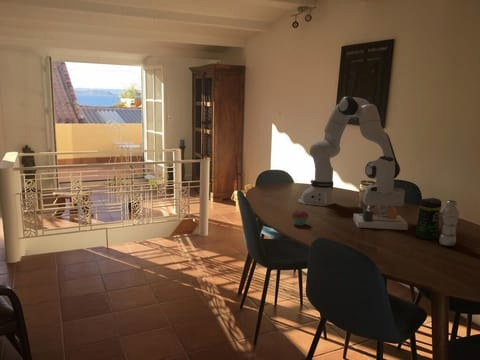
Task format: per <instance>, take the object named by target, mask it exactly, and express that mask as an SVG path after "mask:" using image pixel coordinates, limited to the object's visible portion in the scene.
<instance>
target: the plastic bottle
mask: <svg viewBox="0 0 480 360" xmlns="http://www.w3.org/2000/svg"><path fill="white" fill-rule="evenodd" d="M457 205H458V204H457V201H456V200H452V199H451V200H450V199H449V200H446V207H445V208H444V209H443V210H442V213H441V214H442V216H441V217H442V222H441V223H442V225H441V230H440V231H441V232H440V234H439V236H438V241H439V242H438V243H439V244H440V245H442V246H445V247H453V246H455V245H456V242H457V231H456V229H457V223H458V220H459V216H460V212H459V210H458V208H457Z"/></svg>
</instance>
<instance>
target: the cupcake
mask: <svg viewBox="0 0 480 360" xmlns="http://www.w3.org/2000/svg"><path fill="white" fill-rule="evenodd" d="M304 203H305V202H304ZM304 203H303V204H302V209H301V210H295V211H293V212H292V214H291V219H293V221H294V224H295V226H300V227H301V226H302V227H303V226H304V225H305V224H306V222H307V220H308V219H309V216H310V215H309V214H308V212H306V211H304V208H305V205H306V204H304Z"/></svg>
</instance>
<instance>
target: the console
mask: <svg viewBox="0 0 480 360" xmlns="http://www.w3.org/2000/svg"><path fill="white" fill-rule="evenodd" d="M352 217H353V218H352V219H353V221H354V223H355V225H356V226H357V228H365V229H381V230H383V229H384V230H385V229H386V230H397V231H398V230H401V231H402V230H405V231H408V229H409V224H408V222H407V221H406V220H405V219H404V218H403V217H402V216H401V215H397V216H396V218H389V217H388V216H387V215H386V214H374V213H373V220H372V221H364V220H363V213H353V216H352Z"/></svg>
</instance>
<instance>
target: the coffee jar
mask: <svg viewBox="0 0 480 360" xmlns="http://www.w3.org/2000/svg"><path fill="white" fill-rule="evenodd" d="M418 204H419V205H418V212H419V213H418V219H417V225H416V230H415V236H416V237H418V238H419V239H425V240H433V239H437V238H439V225H440V224H439V223H440V222H439V220H440V213H441V209H442V201H441V199H440V198H439V199H438V198H436V197H429V198H422V199H420V200H419V203H418Z"/></svg>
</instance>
